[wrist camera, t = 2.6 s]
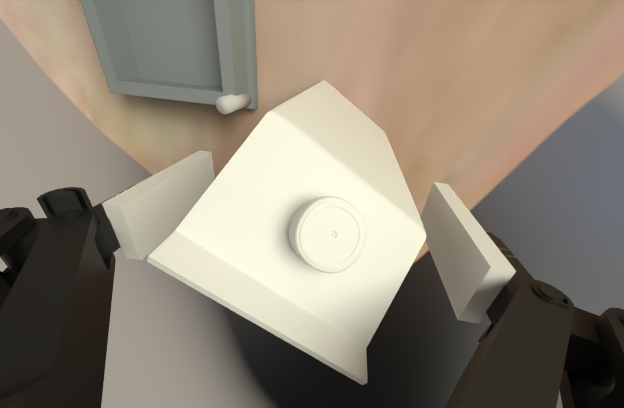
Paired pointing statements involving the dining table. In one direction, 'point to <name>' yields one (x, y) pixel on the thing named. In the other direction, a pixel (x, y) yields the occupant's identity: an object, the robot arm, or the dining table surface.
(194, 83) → the seat block
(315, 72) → the dining table surface
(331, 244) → the milk carton
